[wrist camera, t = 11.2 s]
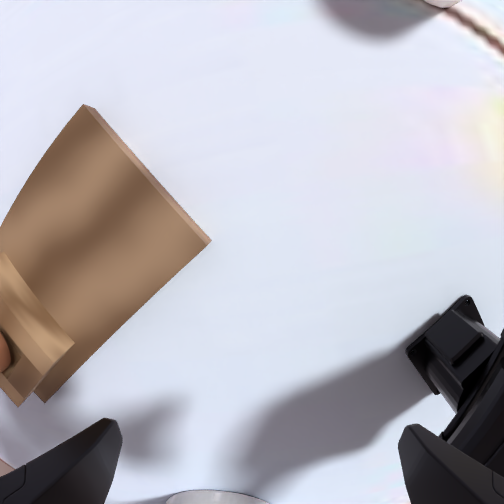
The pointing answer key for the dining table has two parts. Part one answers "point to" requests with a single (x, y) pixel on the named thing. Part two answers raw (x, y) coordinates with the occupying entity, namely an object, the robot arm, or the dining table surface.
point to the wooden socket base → (83, 254)
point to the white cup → (443, 3)
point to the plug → (4, 354)
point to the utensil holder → (212, 498)
